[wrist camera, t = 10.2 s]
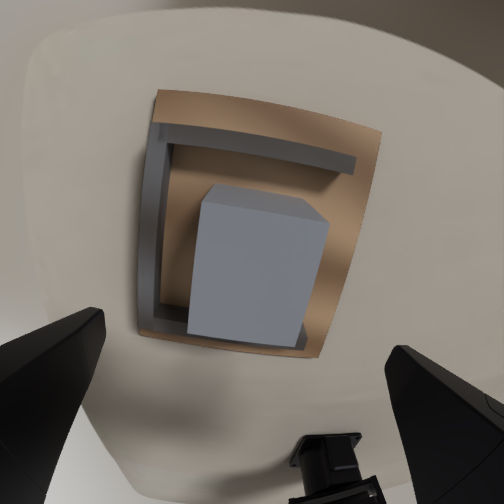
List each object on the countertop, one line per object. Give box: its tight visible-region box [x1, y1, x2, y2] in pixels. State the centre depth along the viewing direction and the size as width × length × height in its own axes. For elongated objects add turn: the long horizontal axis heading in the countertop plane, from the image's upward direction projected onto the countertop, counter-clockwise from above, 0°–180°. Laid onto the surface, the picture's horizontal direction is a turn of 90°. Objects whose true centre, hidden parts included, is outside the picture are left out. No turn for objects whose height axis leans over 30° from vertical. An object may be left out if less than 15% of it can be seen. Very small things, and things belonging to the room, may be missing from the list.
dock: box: [137, 89, 382, 358], centre depth 17 cm, size 16×13×2 cm
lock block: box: [187, 183, 330, 347], centre depth 15 cm, size 6×5×6 cm
